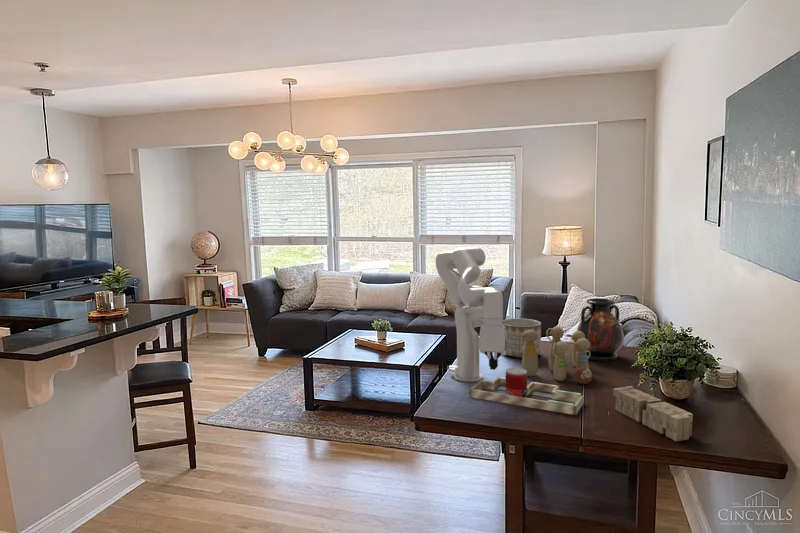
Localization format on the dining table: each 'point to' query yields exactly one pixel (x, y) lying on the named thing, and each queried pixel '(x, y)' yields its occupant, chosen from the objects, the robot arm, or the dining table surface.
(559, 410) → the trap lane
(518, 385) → the canned food
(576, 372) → the bowling set
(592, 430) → the dining table surface
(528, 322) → the planter
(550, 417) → the dining table surface
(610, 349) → the amphora vase
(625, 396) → the block tower
